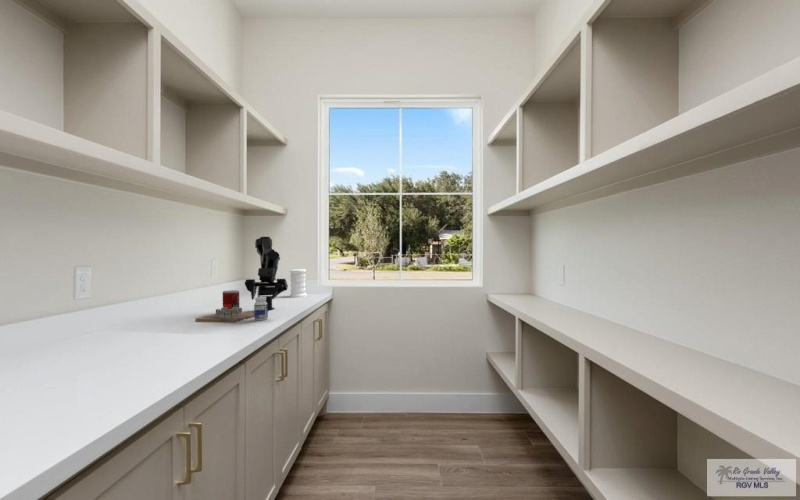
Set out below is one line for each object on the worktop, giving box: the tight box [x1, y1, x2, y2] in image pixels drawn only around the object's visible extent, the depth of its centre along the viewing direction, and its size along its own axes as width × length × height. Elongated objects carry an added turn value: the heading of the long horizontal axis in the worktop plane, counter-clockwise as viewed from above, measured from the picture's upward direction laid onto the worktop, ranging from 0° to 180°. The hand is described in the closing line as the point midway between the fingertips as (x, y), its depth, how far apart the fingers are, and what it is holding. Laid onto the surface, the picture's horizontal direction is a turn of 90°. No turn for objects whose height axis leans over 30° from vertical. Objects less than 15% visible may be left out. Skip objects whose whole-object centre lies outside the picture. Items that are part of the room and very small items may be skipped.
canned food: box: [222, 289, 240, 309], centre depth 212 cm, size 8×8×11 cm
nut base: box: [194, 306, 255, 323], centre depth 194 cm, size 20×20×4 cm
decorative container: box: [289, 269, 308, 298], centre depth 286 cm, size 12×12×18 cm
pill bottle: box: [253, 296, 269, 321], centre depth 189 cm, size 6×6×10 cm
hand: (262, 298), depth 191 cm, fingers open, 9 cm apart
